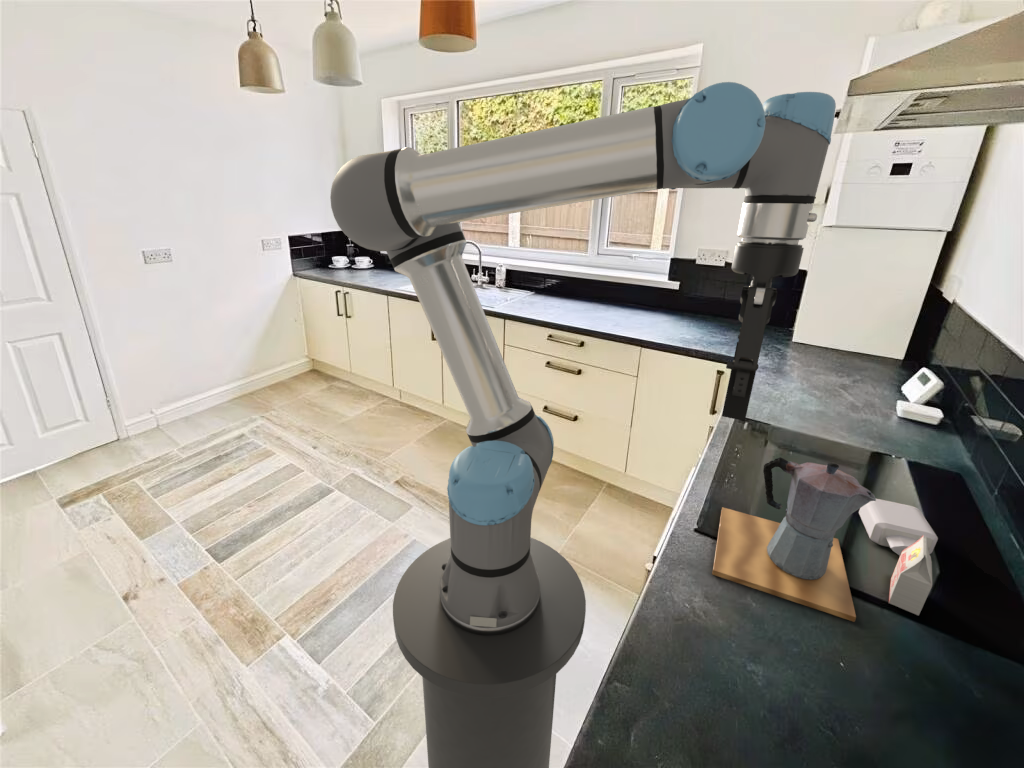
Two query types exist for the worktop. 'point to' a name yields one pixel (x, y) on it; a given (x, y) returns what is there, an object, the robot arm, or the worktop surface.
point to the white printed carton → (912, 578)
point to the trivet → (751, 566)
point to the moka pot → (811, 514)
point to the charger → (896, 525)
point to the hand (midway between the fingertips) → (736, 400)
